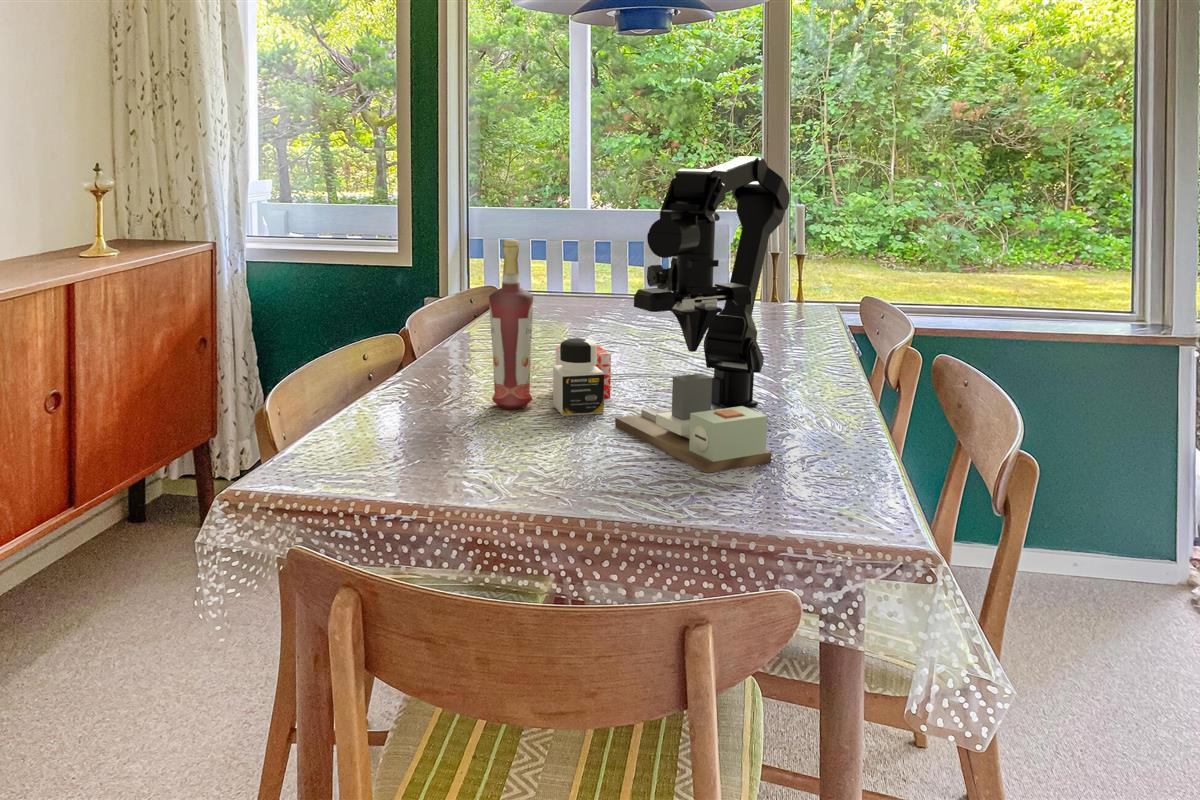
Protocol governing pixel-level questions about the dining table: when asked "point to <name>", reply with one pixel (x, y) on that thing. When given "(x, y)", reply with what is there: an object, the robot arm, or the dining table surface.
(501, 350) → the liquor
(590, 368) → the medicine bottle
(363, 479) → the dining table surface
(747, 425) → the cabinet
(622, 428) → the rail track
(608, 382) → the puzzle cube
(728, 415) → the button
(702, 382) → the carriage
